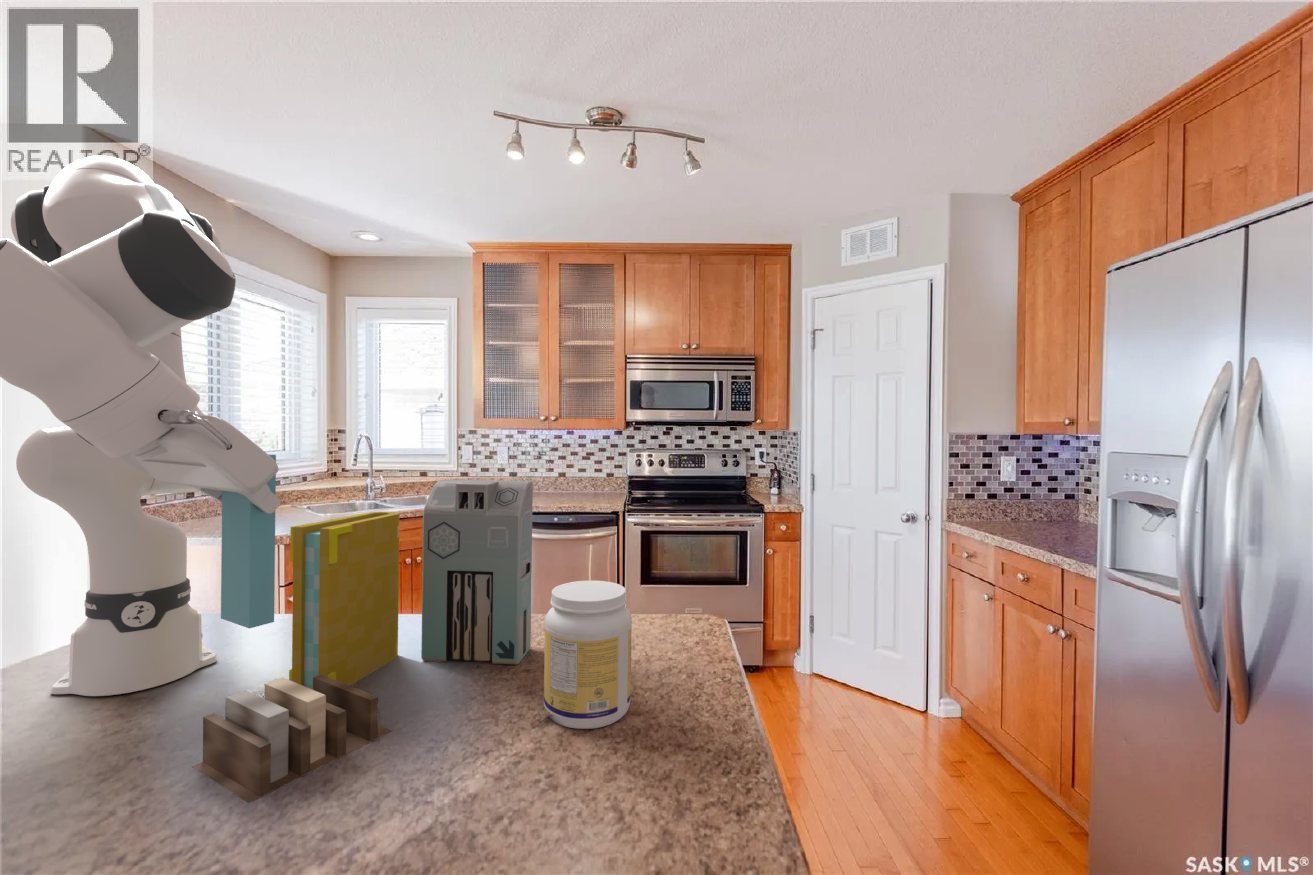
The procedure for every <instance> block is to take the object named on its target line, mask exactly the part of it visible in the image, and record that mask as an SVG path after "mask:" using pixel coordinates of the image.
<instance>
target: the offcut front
mask: <svg viewBox="0 0 1313 875" xmlns="http://www.w3.org/2000/svg"><path fill="white" fill-rule="evenodd" d="M224 715H225V718H224V719H226V720H228V721H230V722H232V723H233V724H235V725H237V726H239V727H241V728H243V729H245V730H247V731H249V732H251V733H252V734H254V735H256V736H258V737H260V738H262V739H264V740H266V741H268V742H270V743H271V782H270V783H272V782H274V781H276V780H278V779H280V778H282V777H284V776H286V775H288V732H289V710H288V709H286V708H284V707H281V706H279V705H277V704H275V703H273V702H270V701H268V700H266V699H264V698H263V697H262V696H259V695H257V694H256V693H253V692H250V691H248V690H246V689H245V690H242V691H239V692H236V693H233V694H231V695H228V696H225V714H224Z"/></svg>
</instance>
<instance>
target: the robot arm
mask: <svg viewBox="0 0 1313 875" xmlns="http://www.w3.org/2000/svg"><path fill="white" fill-rule="evenodd" d="M10 227H11V232H12V235H13V237H14V239H15V241H14V240H13V239H11V238H7V237H0V378H2V379H3V380H4V381H6V382H7V383H8V384H10V385H12V386H14V387H17V388H19V389H21V390H24V391H26V392H28V393H30V394H31V395H33V396H35V397H36V398H37V399H39V400H40V401H42V403H44V405H46V407H47V408H48V409H49V410H50V412H51V413H52V414H53V416H54V417H55V418H56V419H57V420H58V421H60V422H61V423H62V424H64V425H61V426H60V425H58V426H53V427H46V428H40V429H38V430H36V431H35V432H33V433H32V434H31V435H30V436H29V437H27V439H26V440H24V442H23V443H22V445H21V446H20V447H19V450H18V452H17V455H16V462H15V463H16V466H15V467H16V471H17V474H18V477H19V478H20V480H21V482H23V484H24V485H25V486H26V487H27V488H28V489H29V490H30V491H32V492H33V493H34V494H36V495H37V496H40V497H42V498H43V499H46V500H47V501H50V502H52V503H54V504H56V505H57V506H59V507H60V508H62V509H63V510H64V511H66V512H67V513H68V514H69V515H70V517H72V518H73V519H74V520H75V522H76V523H77V525H78V526H79V527H80V529H81V531H82V533H83V535H84V539H85V541H86V545H87V552H88V553H87V554H88V562H89V563H88V565H89V589H88V590H87V591H86V593H85V600H84V605H83V606H84V608H85V614H84V615H85V617H87V618H86V619H85V621H84V622H83V623H82V624H81V625H80V626H78V627H77V628H76V629H75V631H73V632H71V636H70V644H69V646H70V647H69V662H68V663H69V665H68V666H69V668H68V671H67V672H66V673H64V674H63V676H61V677H60V678H59V679H58V680H56V682H55V683H53V684H52V686H51V688H50V694H51V695H69V694H70V695H71V694H72V695H79V696H84V697H85V696H86V697H105V696H113V695H121V694H123V695H124V694H129V693H133V692H138V691H144V690H147V689H151V688H155V687H158V686H161V685H165V684H168V683H171V682H174V681H176V680H178V679H181V678H183V677H185V676H188V675H189V674H191V673H193V672H194V671H197V670H198V669H200V668H203V667H206V666H209V665H212V664H213V663H216V662H217V661H218V660H217V654H216V653H215V652H213V651H212V649H210V648H209V647H208V646H206V645H205V644H204V643H203V632H202V631H203V630H202V625H203V624H202V614H201V613H200V612H198V610H197V609H195V608H193V607H192V606H191V605H190V604H189V602H190V601H191V592H192V588H191V584H190V583H191V582H190V578H188V577H187V562H188V560H187V558H188V553H187V552H188V537H187V535H186V533H185V531H184V529H182V528H181V527H180V525H178V524H176V523H175V522H172V521H170V520H168V519H165V518H163V517H158V516H155V515H151V514H148V513H146V512H145V511H144V510H143V507H142V505H141V497H142V496H146V495H147V496H149V495H159V494H160V495H161V494H162V495H163V494H164V495H165V494H177V493H190V492H191V493H192V492H193V493H194V492H198V491H200V492H202V494H203V493H204V494H205V495H207V496H209V497H211V498H213V499H215V500H216V502H217V501H218V502H219V503H220V504H221V505H222V491H230V492H238V493H240V494H241V495H245V496H246V497H247V498H248V499H249V500H250V501H251V503H250V504H251V505H253V506H254V507H255V508H257V509H258V510H259V511H260V512H264V513H273V512H274V511H275V512H276V511H277V509H278V508H279V507H280V506H281V504H282V500H281V498H279V497H278V495H274V494H273V493H272V492H271V490H270V488H269V487H268V485H267V482H268V481H269V480H270V479H271V478H272V477H273V476H274V475H275V474H276V475H277V473H278V472H279V466H278V464H277V461H276V462H275V461H274V459H273V458H272V457H270V456H269V455H268V454H269V453H267V452H266V451H265V450H263V449H262V448H261V447H260V446H259V445H257V444H256V443H255V442H253V441H252V440H251V439H250V438H249V437H248V436H246V435H244V433H242V432H241V431H240V430H239V429H237V428H236V427H235V426H233V425H232V424H231V423H229V422H228V421H226V420H224V419H223V418H220V417H218V416H216V415H212V414H204V413H203V411H202V410H201V409H200V408H199V407H198V405H199V403H200V400H201V397H200V394H198V393H197V391H195V389H193V388H192V387H191V386H190V385H188V384H187V379H186V373H185V366H184V365H185V364H184V358H183V342H182V330H181V328H183V327H185V326H187V325H189V324H191V323H193V322H194V321H197V320H201V319H204V318H206V317H209V316H211V315H213V314H215V313H218V312H220V311H222V310H225V309H227V308H229V307H230V306H231V304H232V302H233V298H234V294H235V291H236V290H235V289H236V282H237V280H236V275H235V274H234V272H233V270H232V267H231V266H230V264H229V262H228V259H227V258H226V257H225V255H224V254H223V253H222V249H221V243H220V240H219V238H218V235H217V233H216V232H215V230H214V229H213V225H212V224H211V223H210V221H208V219H207V218H206V217H203V216H201V215H200V214H196V213H194V212H190V211H189V210H188V208H187V207H186V206H184V204H183V203H182V202H181V201H180V200H179V199H178V198H177V197H176V196H175V195H174V194H173V193H172V192H170V191H169V190H168V189H166V188H165V187H163V186H162V185H159V184H157V183H155V182H154V181H153V180H152V179H151V177H150V176H149V175H148V174H146V172H144V171H143V170H141V169H140V168H139V167H138V166H135V165H134V164H132V163H131V162H128V161H126V160H123V159H121V158H117V157H113V156H107V155H91V156H87V157H83V158H81V159H77V160H75V161H74V162H72V163H69V164H68V165H67V166H66V167H64V168H63V169H61V170H60V171H59V173H57V175H56V176H55V177H54V178H53V180H52V182H51V183H50V185H49V184H48V185H44V186H43V189H38V190H30V191H28V192H26V193H25V194H23V195H21V196H20V197H18V198H17V199H16V201H15V205H14V208H13V209H12V213H11V217H10Z"/></svg>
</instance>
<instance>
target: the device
mask: <svg viewBox="0 0 1313 875" xmlns="http://www.w3.org/2000/svg"><path fill="white" fill-rule="evenodd" d="M533 483H534V482H533V481H531V480H491V479H487V480H485V479H484V480H483V479H447V478H446V479H438V480H437V481H436V482H435V483H434V485H433V486H432V488H431V491H430V493H429V495H428V498H427V500H426V503H425V505H424V507H423V510H422V511H423V512H422V571H421V572H422V575H421V576H422V577H421V579H422V580H421V581H422V583H421V585H422V586H421V587H422V588H421V650H420V651H421V652H420V653H421V660H422V661H425V662H446V663H449V662H453V663H473V664H474V663H475V664H494V665H495V664H496V665H497V664H498V665H500V664H501V665H516V666H517V665H519V664H520V663H521V661H522V660H523V658H524V657H525V656H526V655H527V654H528V652H529V651H530V649H531V644H532V642H531V640H532V639H531V638H532V637H531V636H532V635H531V634H532V632H531V629H532V628H531V627H532V625H531V624H532V574H533V573H532V571H533V570H532V567H533V566H532V564H533V563H532V562H533V556H532V555H533V498H534V497H533V496H534V495H533V494H534V493H533V491H534V488H533V486H534V484H533ZM448 661H449V662H448Z"/></svg>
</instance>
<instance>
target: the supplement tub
mask: <svg viewBox="0 0 1313 875" xmlns="http://www.w3.org/2000/svg"><path fill="white" fill-rule="evenodd" d="M627 602H628V600H627V594H626V588H625V586H623V585H621V584H619V583H616V582H611V581H606V580H577V581H571V582H567V583H565V582H564V583H562V584H559V585H557V586H555V587H553V588H552V590H551V599H550V605H551V608H550V609H549V610H548V611H547V613H546V616H545V619H544V669H543V670H544V672H543V673H544V674H543V676H544V677H543V706H544V708H545V710H546V711H547V712H548V713H550V714H549V715H548V718H549V719H550V720H552V722H554V723H556V724H558V725H560V726H564V727H567V728H570V729H571V728H572V729H576V730H578V729H579V730H580V729H581V730H589V729H590V730H591V729H598V728H603V727H606V726H609V725H612V724H614V723H616V722H617V721H619V720H621V719H622V718H623V717H624V716H625V715H626V714H627V711H628V710H629V708H630V705H631V699H632V696H631V695H632V694H631V690H632V689H631V686H632V684H631V683H632V681H631V679H632V625H633V620H632V614H631V612H630V610H629V609H628V607H627V606H626V604H627Z"/></svg>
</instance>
